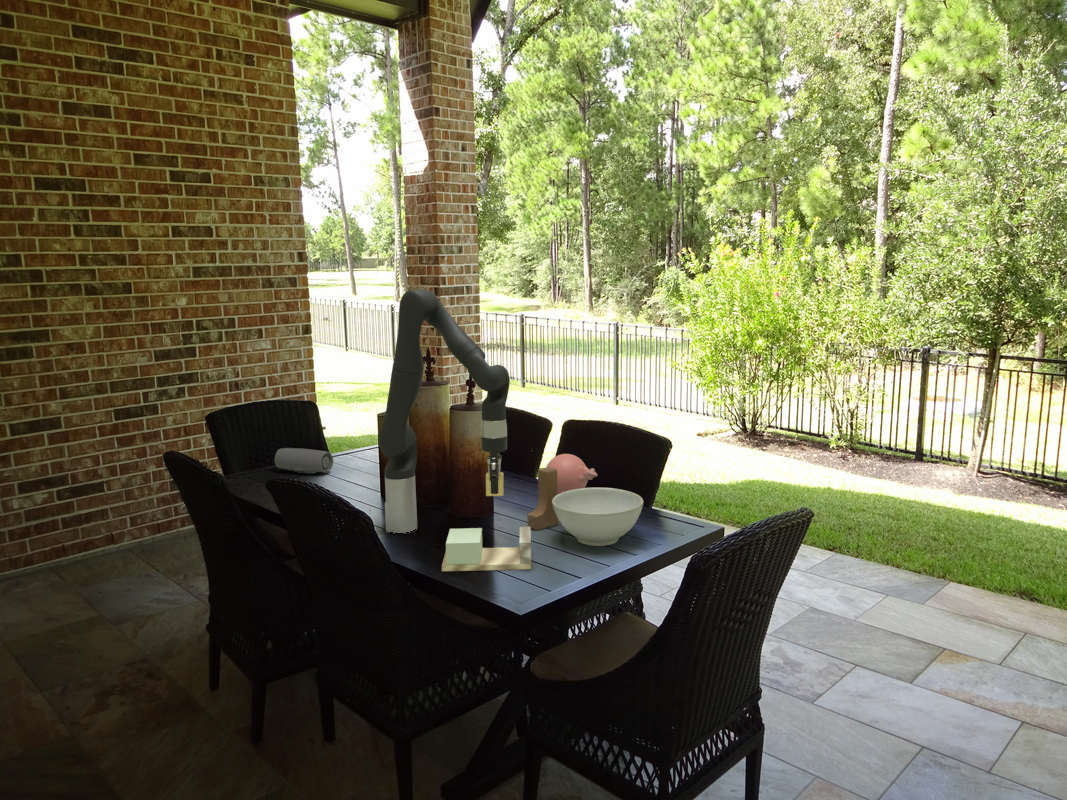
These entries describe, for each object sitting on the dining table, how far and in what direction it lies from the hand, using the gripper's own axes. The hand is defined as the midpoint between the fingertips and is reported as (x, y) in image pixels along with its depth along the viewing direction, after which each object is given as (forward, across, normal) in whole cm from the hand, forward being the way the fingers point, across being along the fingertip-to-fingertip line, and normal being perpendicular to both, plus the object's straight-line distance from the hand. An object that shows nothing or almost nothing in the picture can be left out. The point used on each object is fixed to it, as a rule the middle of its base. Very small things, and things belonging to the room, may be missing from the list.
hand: (494, 491), depth 228 cm
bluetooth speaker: (+17, -87, -81) cm, 120 cm away
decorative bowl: (+15, 0, +30) cm, 34 cm away
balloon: (+15, -43, +25) cm, 52 cm away
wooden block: (+16, -13, +14) cm, 25 cm away
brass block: (+1, 0, 0) cm, 1 cm away
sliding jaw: (+14, +16, -8) cm, 23 cm away
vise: (+15, +16, -2) cm, 22 cm away
